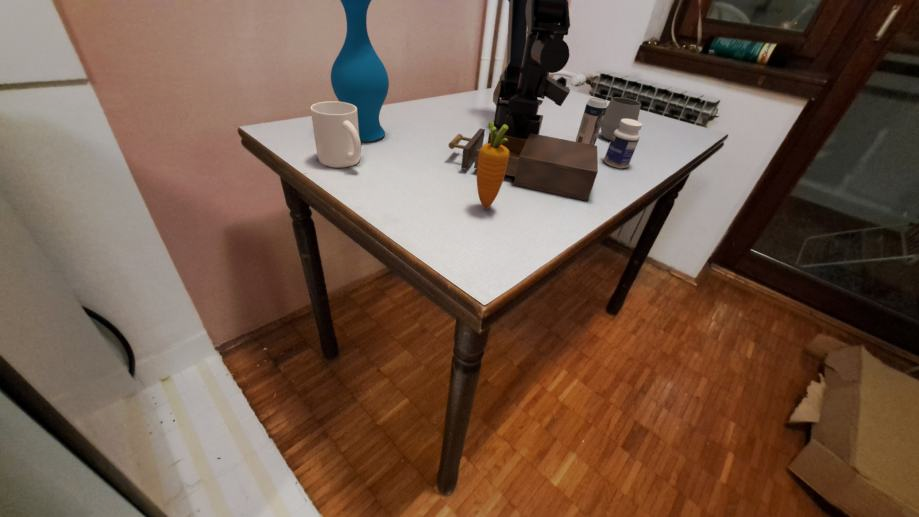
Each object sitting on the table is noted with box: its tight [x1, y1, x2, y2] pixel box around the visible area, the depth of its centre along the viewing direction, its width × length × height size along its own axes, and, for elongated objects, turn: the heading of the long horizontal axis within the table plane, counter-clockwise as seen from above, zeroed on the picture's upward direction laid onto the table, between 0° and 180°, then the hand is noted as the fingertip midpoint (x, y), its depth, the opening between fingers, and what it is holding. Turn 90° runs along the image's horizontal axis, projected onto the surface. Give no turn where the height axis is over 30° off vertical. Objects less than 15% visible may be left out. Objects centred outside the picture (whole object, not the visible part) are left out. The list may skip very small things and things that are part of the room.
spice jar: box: [574, 97, 608, 146], centre depth 89 cm, size 5×5×12 cm
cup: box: [600, 96, 642, 142], centre depth 99 cm, size 10×9×10 cm
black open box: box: [504, 111, 544, 139], centre depth 87 cm, size 8×6×6 cm
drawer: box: [448, 128, 527, 178], centre depth 77 cm, size 18×13×4 cm
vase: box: [330, 0, 390, 143], centre depth 77 cm, size 12×13×28 cm
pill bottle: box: [603, 119, 643, 169], centre depth 84 cm, size 6×6×10 cm
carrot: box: [476, 120, 510, 210], centre depth 59 cm, size 5×5×15 cm
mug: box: [310, 100, 362, 169], centre depth 70 cm, size 12×8×10 cm
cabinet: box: [513, 133, 599, 202], centre depth 75 cm, size 15×15×6 cm
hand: (521, 134), depth 88 cm, fingers closed on black open box, 6 cm apart
